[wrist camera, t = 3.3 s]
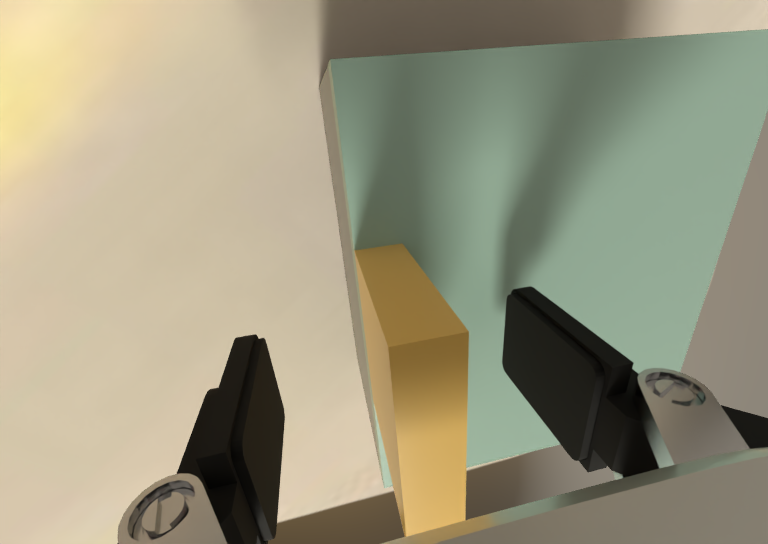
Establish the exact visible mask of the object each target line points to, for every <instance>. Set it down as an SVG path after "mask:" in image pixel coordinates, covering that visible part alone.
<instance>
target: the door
mask: <svg viewBox="0 0 768 544" xmlns="http://www.w3.org/2000/svg"><path fill="white" fill-rule="evenodd" d="M328 69H329V77H330V84H331V92H332V100H333V108H334V115H335V123H336V131H337V139H338V146H339V154H340V162H341V170H342V177H343V185H344V193H345V201H346V208H347V216H348V224H349V232H350V239H351V247H352V255H353V263H354V270H355V278H356V286H357V293H358V301H359V309H360V317H361V324H362V332H363V340H364V348H365V355H366V363H367V371H368V379H369V386H370V394H371V402H372V410H373V417H374V425H375V433H376V441H377V448H378V456H379V464H380V470H381V475H382V480H383V484H384V488H387V487H391V486H393V488H394V492H395V496H396V501H397V505H398V509H399V513H400V518H401V522H402V526H403V531H404V535H405V537H407V536H411V535H414V534H418V533H422V532H425V531H429V530H432V529H436V528H440V527H443V526H447V525H451V524H454V523H458V522H462V521H465V506H466V505H465V504H466V468H467V467H471V466H475V465H479V464H483V463H487V462H491V461H495V460H499V459H503V458H508V457H512V456H516V455H520V454H524V453H528V452H532V451H536V450H540V449H544V448H547V447H552V446H556V445H560V443H559V441H558V440H557V439H556V437H555V436H554V435H553V434H552V432H551V431H550V430H549V428H548V427H547V426H546V425H545V423H544V422H543V421H542V419H541V418H540V417H539V416H538V414H537V413H536V412H535V410H534V409H533V408H532V406H531V405H530V404H529V403H528V401H527V400H526V399H525V397H524V396H523V395H522V394H521V392H520V391H519V390H518V388H517V387H516V386H515V385H514V383H513V382H512V381H511V379H510V378H509V377H508V376H507V374H506V373H505V371H504V369H503V365H502V356H503V342H504V327H505V313H506V299H507V296H508V295H509V294H511V292H512V290H513V289H517V288H523V287H529V286H532V287H534V288H535V289H536V290H538V291H539V292H540V293H542V294H543V295H544V296H546V297H547V298H548V299H550V300H551V301H552V302H554V303H555V304H556V305H558V306H559V307H560V308H562V309H563V310H564V311H566V312H567V313H568V314H570V315H571V316H572V317H574V318H575V319H576V320H578V321H579V322H580V323H582V324H583V325H584V326H586V327H587V328H588V329H590V330H591V331H592V332H594V333H595V334H596V335H598V336H599V337H600V338H601V339H603V340H604V341H605V342H607V343H608V344H609V345H611V346H612V347H613V348H615V349H616V350H617V351H619V352H620V353H621V354H623V355H624V356H625V357H627V358H628V359H629V360H631V361H632V362H633V363H634V364H633V368H632V369H633V370H634V371H636V372H637V373H638V374H639V373H640V372H642V371H643V370H645V369H650V368H665V369H670V370H675V371H678V372H680V371H681V368H682V365H683V362H684V359H685V356H686V353H687V350H688V347H689V344H690V340H691V338H692V335H693V332H694V329H695V326H696V323H697V320H698V317H699V314H700V311H701V308H702V305H703V302H704V299H705V296H706V293H707V290H708V287H709V284H710V281H711V278H712V275H713V272H714V269H715V266H716V263H717V260H718V257H719V254H720V251H721V248H722V245H723V242H724V239H725V236H726V233H727V230H728V227H729V224H730V221H731V218H732V215H733V212H734V209H735V206H736V203H737V200H738V197H739V194H740V191H741V188H742V185H743V182H744V179H745V176H746V174H747V170H748V167H749V164H750V162H751V158H752V155H753V153H754V150H755V146H756V143H757V141H758V138H759V134H760V132H761V129H762V126H763V122H764V120H765V117H766V114H767V111H768V29H765V30H750V31H736V32H721V33H707V34H692V35H677V36H663V37H648V38H634V39H619V40H604V41H590V42H575V43H561V44H546V45H531V46H517V47H502V48H487V49H473V50H458V51H444V52H429V53H414V54H400V55H385V56H371V57H356V58H341V59H330V61H329V63H328Z"/></svg>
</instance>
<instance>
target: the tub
mask: <svg viewBox="0 0 768 544" xmlns="http://www.w3.org/2000/svg"><path fill="white" fill-rule="evenodd" d="M319 90H320V97H321V104H322V111H323V118H324V126H325V133H326V140H327V147H328V154H329V161H330V168H331V175H332V182H333V189H334V196H335V203H336V210H337V217H338V224H339V232H340V239H341V246H342V253H343V260H344V267H345V274H346V281H347V288H348V295H349V302H350V309H351V316H352V323H353V331H354V338H355V345H356V352H357V359H358V364H359V369H360V374H361V378H362V383H363V388H364V393H365V398H366V402H367V407H368V412H369V417H370V422H371V427H372V431H373V436H374V441H375V446H376V451H377V456H378V448H377V441H376V433H375V425H374V417H373V410H372V402H371V394H370V386H369V379H368V371H367V363H366V355H365V348H364V340H363V332H362V324H361V317H360V309H359V301H358V293H357V286H356V278H355V270H354V263H353V255H352V247H351V239H350V232H349V224H348V216H347V208H346V201H345V193H344V185H343V177H342V170H341V162H340V154H339V146H338V139H337V131H336V123H335V115H334V108H333V100H332V92H331V84H330V77H329V69H328V66H327V69H326V71H325V74H324V76H323V79H322V81H321V84H320V86H319ZM378 460H379V456H378ZM379 465H380V464H379Z"/></svg>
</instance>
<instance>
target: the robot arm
mask: <svg viewBox="0 0 768 544" xmlns="http://www.w3.org/2000/svg"><path fill="white" fill-rule="evenodd" d="M633 364H634V363H633V362H632V361H631V360H629V359H628V358H627V357H625V356H624V355H623V354H621V353H620V352H619V351H617V350H616V349H615V348H613V347H612V346H611V345H609V344H608V343H607V342H605V341H604V340H603V339H601V338H600V337H599V336H598V335H596V334H595V333H594V332H592V331H591V330H590V329H588V328H587V327H586V326H584V325H583V324H582V323H580V322H579V321H578V320H576V319H575V318H574V317H572V316H571V315H570V314H568V313H567V312H566V311H564V310H563V309H562V308H560V307H559V306H558V305H556V304H555V303H554V302H552V301H551V300H550V299H548V298H547V297H546V296H544V295H543V294H542V293H540V292H539V291H538V290H536V289H535V288H534V287H532V286H529V287H523V288H517V289H513V290H512V292H511V294H509V295H508V296H507V299H506V313H505V327H504V342H503V356H502V365H503V369H504V371H505V373H506V374H507V376H508V377H509V378H510V379H511V381H512V382H513V383H514V385H515V386H516V387H517V388H518V390H519V391H520V392H521V394H522V395H523V396H524V397H525V399H526V400H527V401H528V403H529V404H530V405H531V406H532V408H533V409H534V410H535V412H536V413H537V414H538V416H539V417H540V418H541V419H542V421H543V422H544V423H545V425H546V426H547V427H548V428H549V430H550V431H551V432H552V434H553V435H554V436H555V437H556V439H557V440H558V441H559V443H560V444H561V445H562V446H563V448H564V449H565V450H566V452H567V453H568V454H569V455H570V456H571V458H572V459H574V460H576V461H577V460H579V461H580V463H581V464H582V465H583V467H584V468H585V469H586V470H587V472H591V471H595V470H598V469H603V468H606V467H607V466H608V467H609V468H610V469H611V470H612V471H613V472H614V477H615V480H614V481H610V482H607V483H603V484H599V485H595V486H591V487H588V488H584V489H580V490H576V491H573V492H569V493H565V494H561V495H557V496H554V497H550V498H546V499H543V500H539V501H535V502H532V503H528V504H524V505H521V506H517V507H513V508H509V509H506V510H502V511H498V512H495V513H491V514H487V515H484V516H480V517H476V518H473V519H469V520H465V521H462V522H458V523H454V524H451V525H447V526H443V527H440V528H436V529H432V530H429V531H425V532H422V533H418V534H414V535H411V536H407V537H404V538H400V539H396V540H393V541H389V542H386V543H382V544H768V418H765V417H761V416H758V415H754V414H751V413H747V412H743V411H740V410H735V409H732V408H729V407H725V406H722V405H720V404H719V402H718V401H717V399H716V398H715V396H714V395H713V394H712V392H711V391H710V390H709V389H708V388H707V387H706V386H705V385H703V384H702V383H701V382H699V381H698V380H696V379H694V378H692V377H690V376H688V375H686V374H683V373H680V372H678V371H675V370H670V369H665V368H650V369H645V370H643V371H642V372H640V373H639V374H638V373H637V372H636V371H634V370H633V369H632V368H633ZM284 421H285V415H284V408H283V404H282V400H281V396H280V392H279V389H278V385H277V381H276V378H275V374H274V370H273V366H272V363H271V359H270V355H269V351H268V348H267V344H266V341H265V339H264V338H261V339H258V337H257V335H256V334H255V335H249V336H243V337H238V338H235V340H234V343H233V346H232V349H231V352H230V355H229V358H228V361H227V364H226V367H225V370H224V373H223V376H222V379H221V382H220V385H219V388H215V389H210V390H209V391H208V392H207V394H206V395H205V398H204V401H203V404H202V406H201V409H200V412H199V414H198V417H197V420H196V423H195V425H194V428H193V431H192V434H191V436H190V439H189V442H188V444H187V447H186V450H185V453H184V455H183V458H182V461H181V464H180V466H179V469H178V472H177V474H175V475H172V476H168V477H166V478H164V479H161V480H159V481H157V482H155V483H154V484H152V485H151V486H150V487H148V488H147V489H145V490H144V491H143V492H142V493H141V494H140V495H139V496H138V497H137V498H136V499H135V500H134V501H133V502H132V503H131V504H130V506H129V507H128V508H127V510H126V511H125V513H124V514H123V517H122V519H121V521H120V524H119V526H118V544H268V540H271V539H274V538H275V535H276V526H277V514H278V500H279V487H280V474H281V461H282V447H283V434H284Z"/></svg>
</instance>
